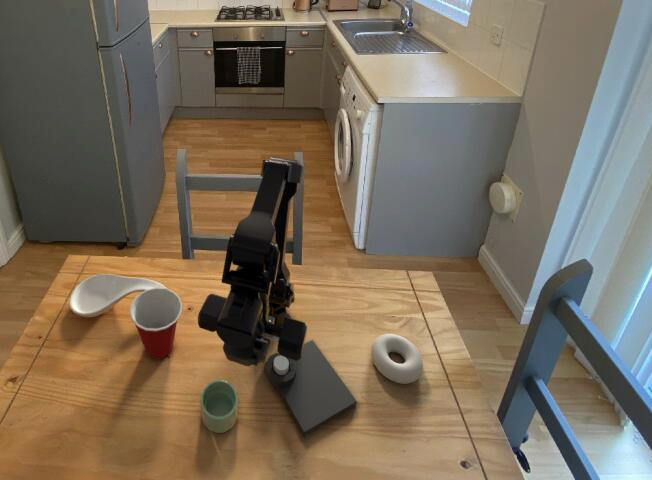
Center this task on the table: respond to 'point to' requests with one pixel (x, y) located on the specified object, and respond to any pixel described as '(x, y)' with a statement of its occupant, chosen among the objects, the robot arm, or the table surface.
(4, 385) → the table surface
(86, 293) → the spoon rest
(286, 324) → the robot arm
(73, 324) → the table surface
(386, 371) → the donut
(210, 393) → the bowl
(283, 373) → the button
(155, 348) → the plastic cup
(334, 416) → the scale
